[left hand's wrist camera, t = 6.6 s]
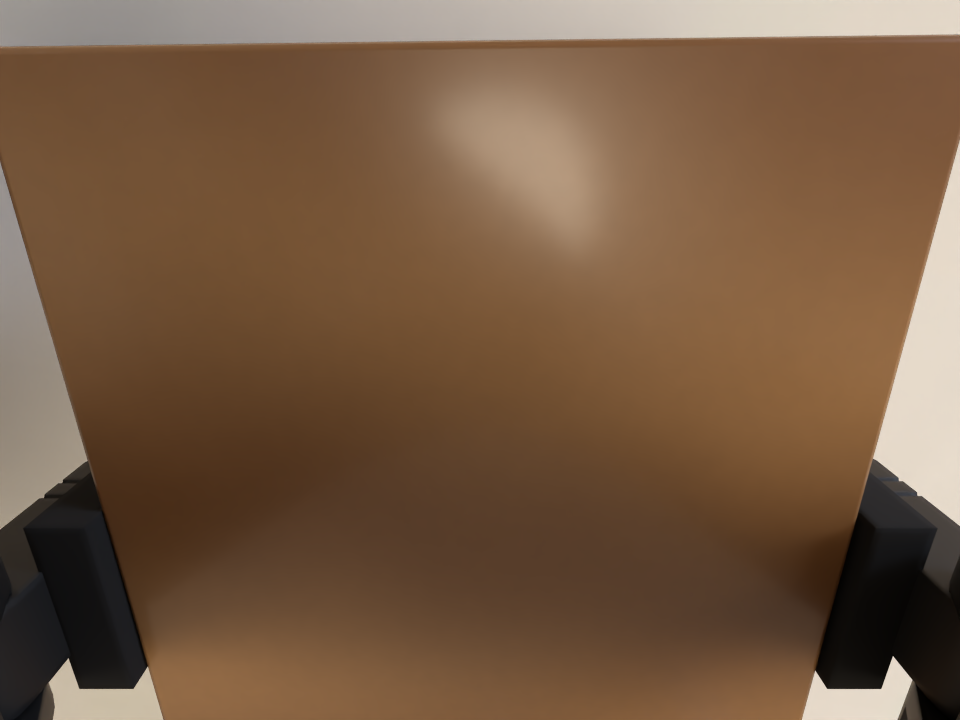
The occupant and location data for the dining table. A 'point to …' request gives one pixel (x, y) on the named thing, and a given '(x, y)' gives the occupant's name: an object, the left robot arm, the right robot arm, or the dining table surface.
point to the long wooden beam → (481, 355)
